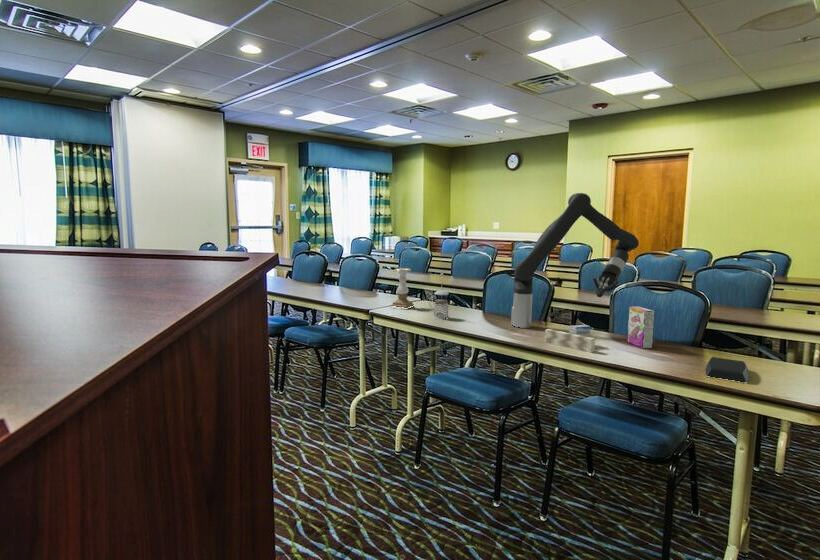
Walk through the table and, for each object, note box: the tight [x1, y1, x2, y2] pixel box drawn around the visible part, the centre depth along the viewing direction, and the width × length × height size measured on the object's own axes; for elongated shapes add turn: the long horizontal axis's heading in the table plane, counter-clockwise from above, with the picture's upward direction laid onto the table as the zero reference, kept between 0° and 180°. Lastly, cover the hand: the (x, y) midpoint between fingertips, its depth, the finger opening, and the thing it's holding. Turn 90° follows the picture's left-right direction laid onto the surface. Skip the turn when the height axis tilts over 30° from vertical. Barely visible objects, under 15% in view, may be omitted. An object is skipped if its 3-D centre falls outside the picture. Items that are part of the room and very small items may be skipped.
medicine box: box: [568, 324, 591, 337], centre depth 206 cm, size 8×4×9 cm, turn 109°
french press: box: [428, 272, 450, 320], centre depth 260 cm, size 10×12×25 cm
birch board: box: [544, 328, 596, 353], centre depth 203 cm, size 22×3×6 cm, turn 40°
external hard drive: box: [704, 356, 750, 383], centre depth 169 cm, size 13×19×4 cm
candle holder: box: [390, 267, 415, 308], centre depth 290 cm, size 11×11×24 cm
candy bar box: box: [626, 305, 656, 349], centre depth 206 cm, size 11×5×16 cm, turn 9°
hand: (598, 296), depth 219 cm, fingers closed
